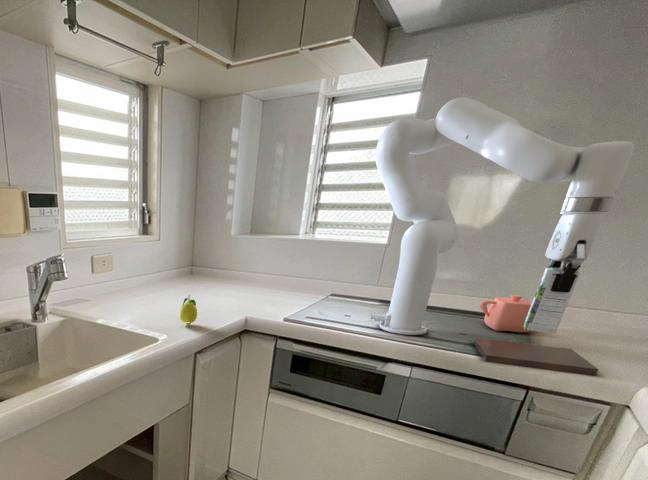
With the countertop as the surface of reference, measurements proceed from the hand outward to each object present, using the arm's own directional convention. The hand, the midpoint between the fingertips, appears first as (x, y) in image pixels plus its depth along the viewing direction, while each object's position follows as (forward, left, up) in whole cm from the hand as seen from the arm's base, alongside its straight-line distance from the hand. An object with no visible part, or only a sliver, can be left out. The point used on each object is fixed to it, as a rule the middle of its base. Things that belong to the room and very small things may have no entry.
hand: (554, 288), depth 95 cm
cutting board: (0, 0, -17) cm, 17 cm away
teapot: (+2, +30, -18) cm, 35 cm away
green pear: (-88, -12, -18) cm, 91 cm away
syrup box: (0, 0, -10) cm, 10 cm away
